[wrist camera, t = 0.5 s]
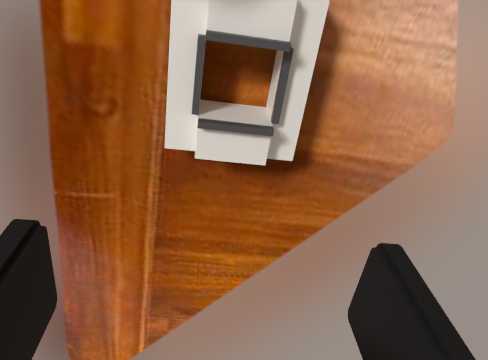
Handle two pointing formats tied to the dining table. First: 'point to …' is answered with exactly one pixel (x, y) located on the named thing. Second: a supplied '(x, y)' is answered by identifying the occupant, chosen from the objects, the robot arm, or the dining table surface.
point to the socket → (237, 115)
